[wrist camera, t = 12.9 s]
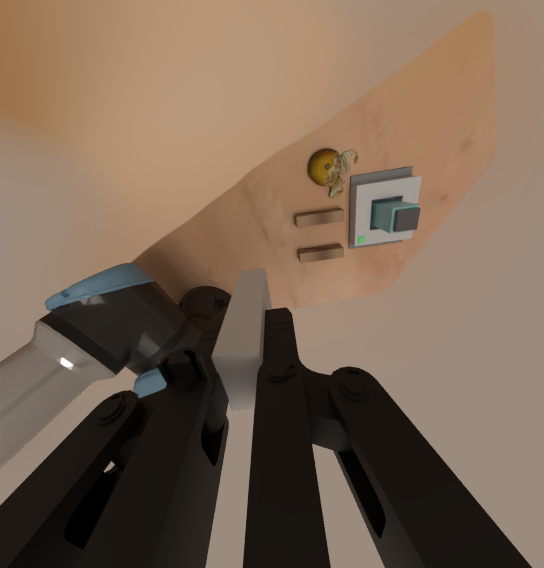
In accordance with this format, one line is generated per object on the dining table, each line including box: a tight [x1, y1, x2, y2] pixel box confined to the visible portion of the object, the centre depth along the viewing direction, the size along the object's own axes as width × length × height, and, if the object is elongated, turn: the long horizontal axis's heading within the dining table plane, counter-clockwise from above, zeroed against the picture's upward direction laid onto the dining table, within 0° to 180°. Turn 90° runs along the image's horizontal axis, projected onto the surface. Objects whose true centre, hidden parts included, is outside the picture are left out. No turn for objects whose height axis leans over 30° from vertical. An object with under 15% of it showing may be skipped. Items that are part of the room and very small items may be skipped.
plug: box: [370, 199, 420, 234], centre depth 37 cm, size 4×4×10 cm
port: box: [349, 167, 422, 249], centre depth 40 cm, size 11×14×4 cm
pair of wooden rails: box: [295, 208, 344, 263], centre depth 42 cm, size 9×9×3 cm
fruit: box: [308, 148, 358, 198], centre depth 37 cm, size 8×8×4 cm
